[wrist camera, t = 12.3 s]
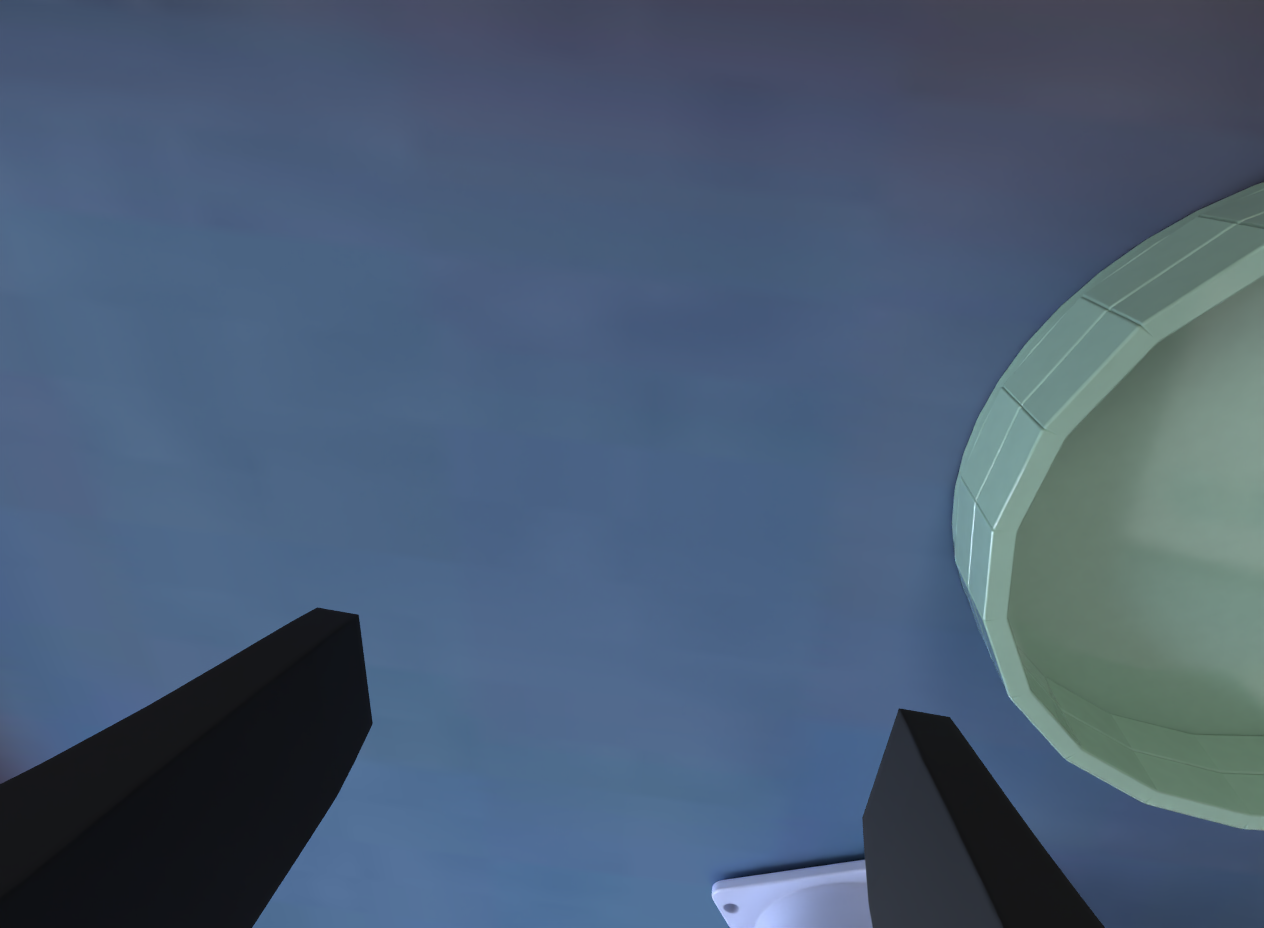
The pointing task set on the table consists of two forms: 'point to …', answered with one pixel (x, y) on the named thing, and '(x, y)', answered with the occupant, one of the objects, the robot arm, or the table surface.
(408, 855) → the table surface
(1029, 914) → the robot arm
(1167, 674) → the pan
